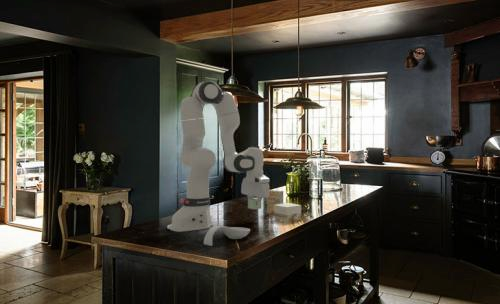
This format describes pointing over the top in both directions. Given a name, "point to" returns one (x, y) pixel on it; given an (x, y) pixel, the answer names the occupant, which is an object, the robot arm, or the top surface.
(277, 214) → the block
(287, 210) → the tower top
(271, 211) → the supplement box
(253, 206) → the sage cube
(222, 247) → the top surface
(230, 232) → the white curved spoon
